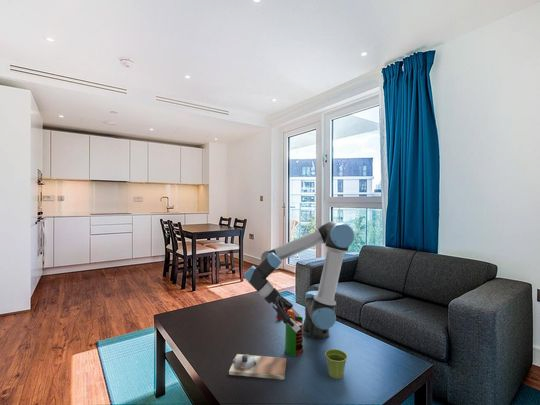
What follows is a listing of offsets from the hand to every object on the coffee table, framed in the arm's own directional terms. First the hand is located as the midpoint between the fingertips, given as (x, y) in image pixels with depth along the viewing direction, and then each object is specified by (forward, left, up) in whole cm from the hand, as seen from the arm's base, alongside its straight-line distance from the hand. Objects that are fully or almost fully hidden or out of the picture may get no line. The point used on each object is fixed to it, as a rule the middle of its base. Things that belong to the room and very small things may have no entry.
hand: (298, 324), depth 138 cm
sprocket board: (+17, +16, -14) cm, 27 cm away
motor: (+2, 0, -14) cm, 14 cm away
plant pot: (-17, +16, -14) cm, 27 cm away
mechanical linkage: (+11, -40, -14) cm, 44 cm away
